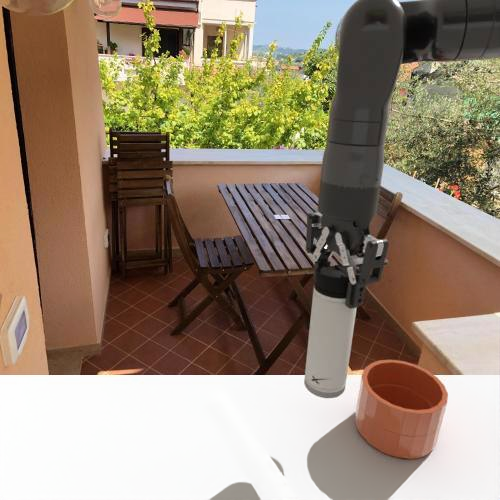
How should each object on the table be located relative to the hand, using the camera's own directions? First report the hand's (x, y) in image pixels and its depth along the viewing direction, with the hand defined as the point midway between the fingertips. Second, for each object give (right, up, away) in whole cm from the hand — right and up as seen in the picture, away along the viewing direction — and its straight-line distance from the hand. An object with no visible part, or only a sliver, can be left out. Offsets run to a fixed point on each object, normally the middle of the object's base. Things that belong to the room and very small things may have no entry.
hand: (335, 294), depth 60 cm
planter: (+12, -23, +10) cm, 28 cm away
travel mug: (-1, -15, +6) cm, 16 cm away
